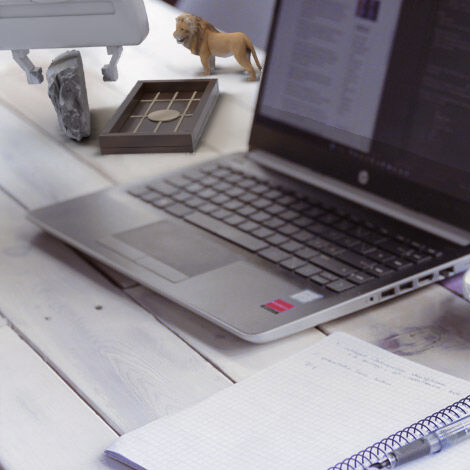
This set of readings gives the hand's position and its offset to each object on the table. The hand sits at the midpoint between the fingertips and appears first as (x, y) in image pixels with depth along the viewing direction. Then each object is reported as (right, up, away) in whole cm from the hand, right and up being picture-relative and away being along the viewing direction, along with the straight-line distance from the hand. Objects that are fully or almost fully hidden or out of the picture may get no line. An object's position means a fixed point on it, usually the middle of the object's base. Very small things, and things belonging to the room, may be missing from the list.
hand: (73, 81), depth 118 cm
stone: (-1, -6, +3) cm, 7 cm away
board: (+11, -5, +4) cm, 12 cm away
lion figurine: (+15, +4, +21) cm, 27 cm away
